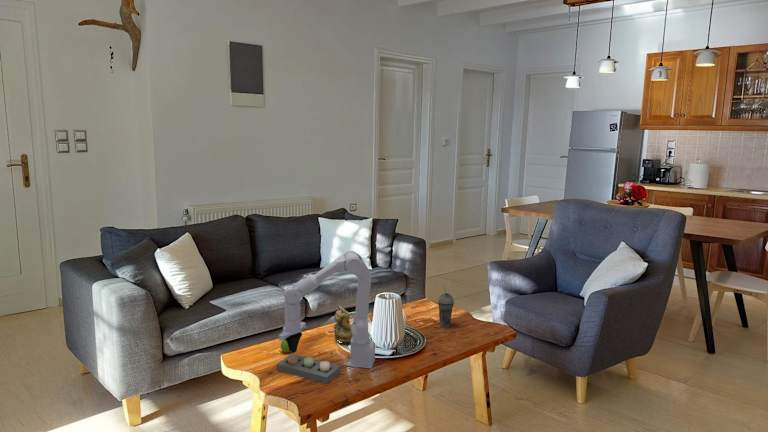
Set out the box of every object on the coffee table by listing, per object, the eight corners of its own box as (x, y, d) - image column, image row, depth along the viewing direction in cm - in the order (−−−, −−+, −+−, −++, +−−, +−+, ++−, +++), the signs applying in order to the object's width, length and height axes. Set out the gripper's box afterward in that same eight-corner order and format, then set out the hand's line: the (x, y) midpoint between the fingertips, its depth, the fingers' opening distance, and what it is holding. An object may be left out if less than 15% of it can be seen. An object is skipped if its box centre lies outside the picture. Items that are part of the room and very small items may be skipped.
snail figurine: (293, 355, 214) (293, 327, 211) (278, 353, 215) (278, 325, 213) (298, 349, 219) (298, 322, 217) (283, 348, 220) (283, 320, 218)
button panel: (340, 372, 201) (340, 365, 201) (326, 383, 192) (326, 377, 192) (292, 359, 210) (291, 353, 210) (276, 370, 201) (276, 364, 201)
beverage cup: (453, 329, 244) (455, 287, 240) (437, 328, 244) (439, 286, 240) (451, 323, 251) (454, 282, 247) (436, 322, 251) (438, 281, 247)
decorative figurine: (331, 337, 232) (331, 304, 229) (348, 334, 235) (349, 301, 232) (339, 346, 223) (339, 312, 220) (357, 343, 227) (358, 309, 224)
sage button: (315, 365, 202) (315, 358, 201) (310, 369, 198) (310, 362, 198) (307, 363, 203) (307, 356, 203) (301, 367, 200) (301, 360, 199)
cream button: (331, 369, 199) (331, 362, 198) (326, 374, 196) (326, 366, 195) (323, 367, 200) (323, 360, 200) (317, 371, 197) (317, 364, 197)
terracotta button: (299, 365, 205) (299, 358, 204) (294, 369, 202) (294, 361, 201) (291, 363, 206) (291, 356, 206) (286, 367, 203) (286, 359, 203)
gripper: (294, 309, 208) (295, 342, 211) (271, 322, 196) (272, 357, 198) (310, 312, 206) (310, 346, 208) (288, 325, 193) (288, 361, 195)
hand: (293, 351), depth 203 cm, fingers closed
